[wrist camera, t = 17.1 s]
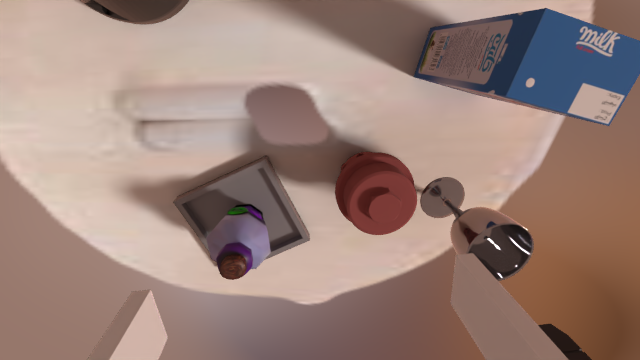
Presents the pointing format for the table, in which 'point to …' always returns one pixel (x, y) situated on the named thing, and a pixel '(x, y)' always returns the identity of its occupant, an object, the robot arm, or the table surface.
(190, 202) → the charcoal tray
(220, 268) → the potion bottle
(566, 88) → the milk carton
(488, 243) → the wine glass
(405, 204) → the mechanical component
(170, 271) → the table surface
